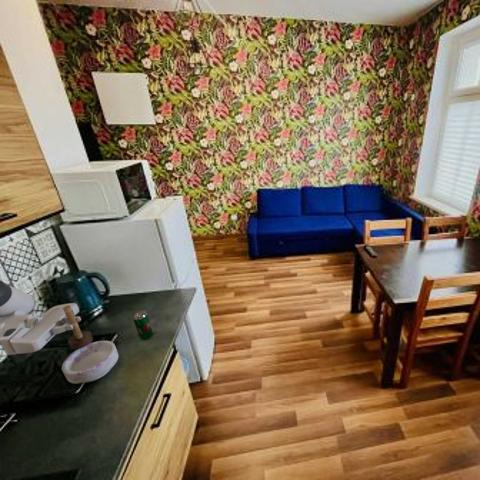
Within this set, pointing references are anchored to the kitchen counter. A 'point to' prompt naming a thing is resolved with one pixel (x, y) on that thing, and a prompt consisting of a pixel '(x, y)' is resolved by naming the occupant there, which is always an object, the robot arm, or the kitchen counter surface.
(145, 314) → the soda can
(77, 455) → the kitchen counter surface
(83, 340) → the toilet plunger
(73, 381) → the paper bowls
